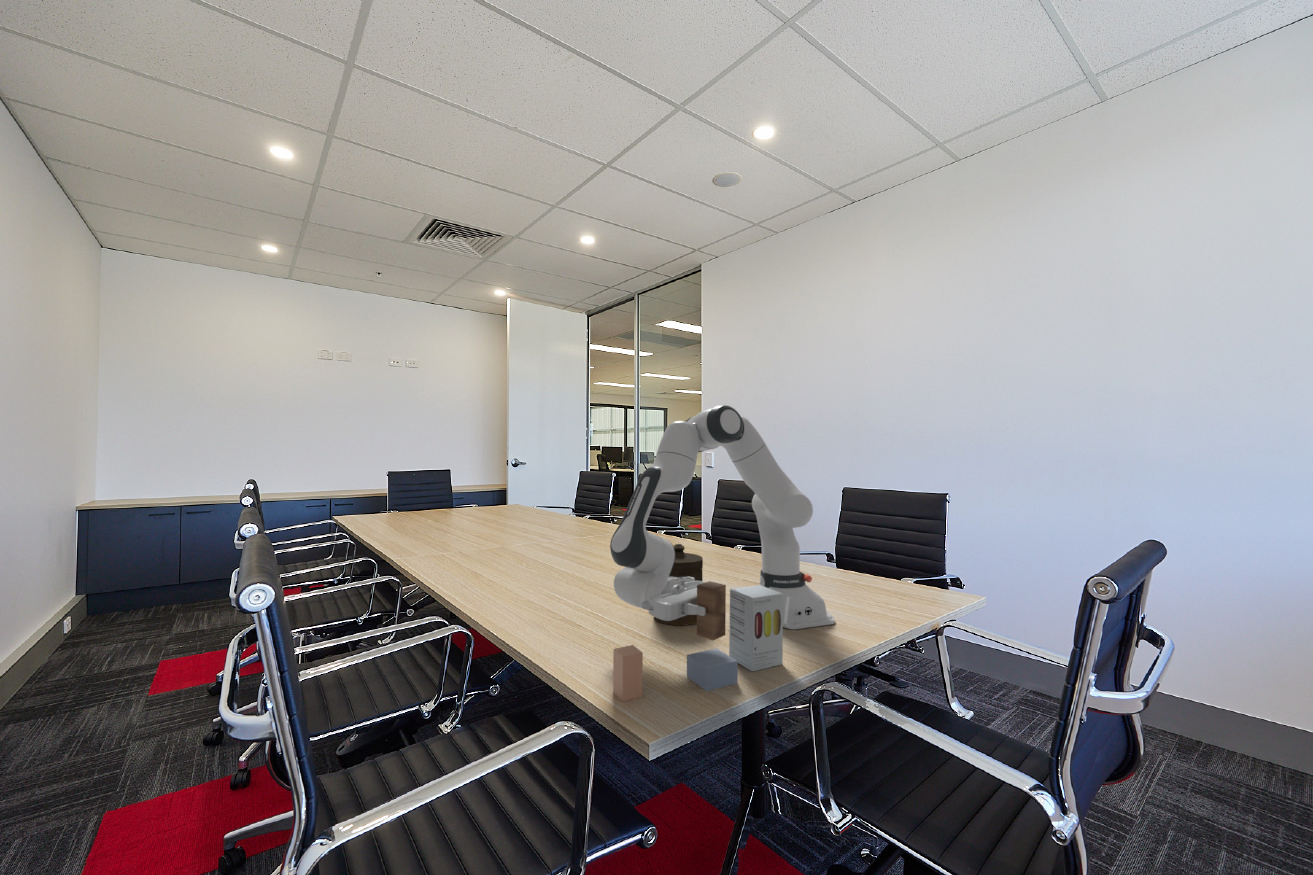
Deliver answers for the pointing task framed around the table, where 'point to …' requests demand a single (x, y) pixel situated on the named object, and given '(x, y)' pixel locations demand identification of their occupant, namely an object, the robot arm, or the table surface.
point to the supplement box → (756, 627)
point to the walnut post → (711, 610)
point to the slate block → (712, 669)
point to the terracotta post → (627, 672)
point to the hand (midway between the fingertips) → (714, 608)
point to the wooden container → (685, 568)
